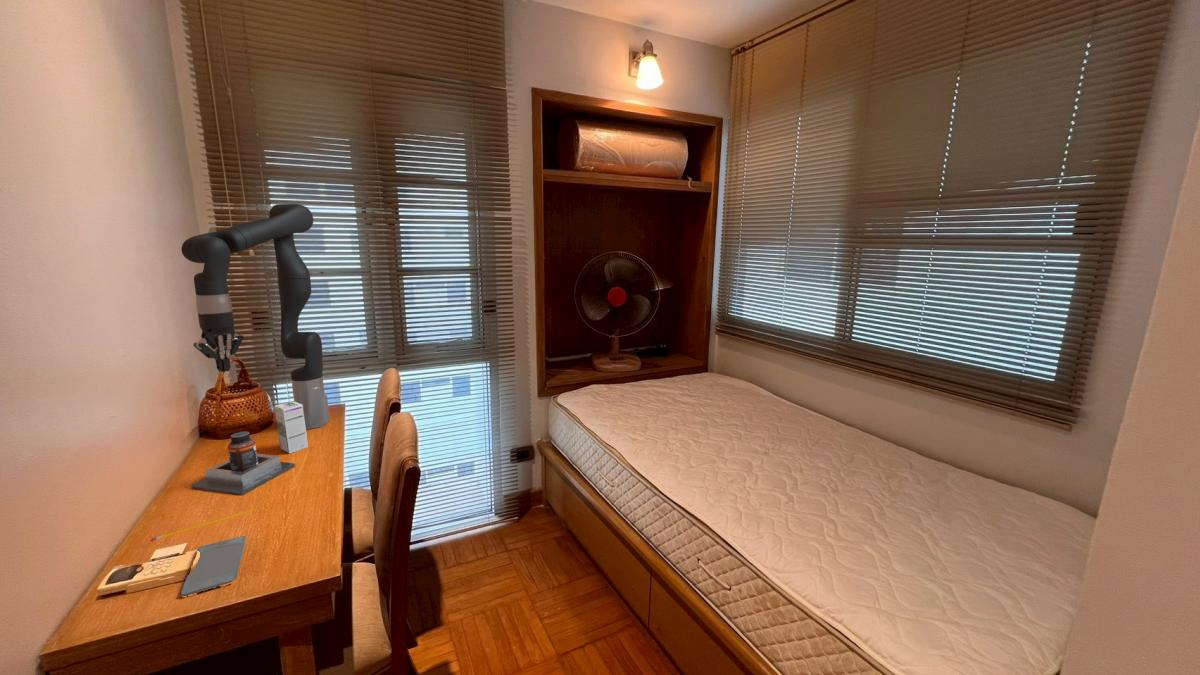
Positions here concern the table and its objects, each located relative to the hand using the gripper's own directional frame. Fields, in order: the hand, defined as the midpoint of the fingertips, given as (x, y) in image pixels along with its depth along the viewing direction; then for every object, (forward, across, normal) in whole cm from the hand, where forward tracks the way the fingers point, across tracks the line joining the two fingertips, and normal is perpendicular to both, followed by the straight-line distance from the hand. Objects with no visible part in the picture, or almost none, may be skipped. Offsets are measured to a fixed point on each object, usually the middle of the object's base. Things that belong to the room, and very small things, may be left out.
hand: (224, 371), depth 133 cm
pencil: (+28, +28, +24) cm, 46 cm away
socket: (+27, +8, +12) cm, 31 cm away
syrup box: (+27, -10, +10) cm, 31 cm away
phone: (+28, +39, +40) cm, 62 cm away
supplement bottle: (+26, +8, +12) cm, 30 cm away
